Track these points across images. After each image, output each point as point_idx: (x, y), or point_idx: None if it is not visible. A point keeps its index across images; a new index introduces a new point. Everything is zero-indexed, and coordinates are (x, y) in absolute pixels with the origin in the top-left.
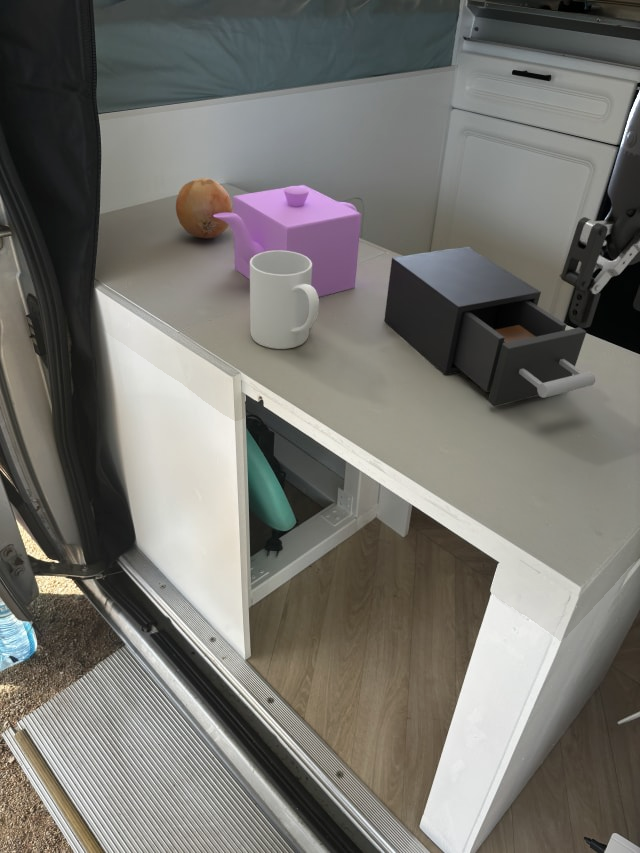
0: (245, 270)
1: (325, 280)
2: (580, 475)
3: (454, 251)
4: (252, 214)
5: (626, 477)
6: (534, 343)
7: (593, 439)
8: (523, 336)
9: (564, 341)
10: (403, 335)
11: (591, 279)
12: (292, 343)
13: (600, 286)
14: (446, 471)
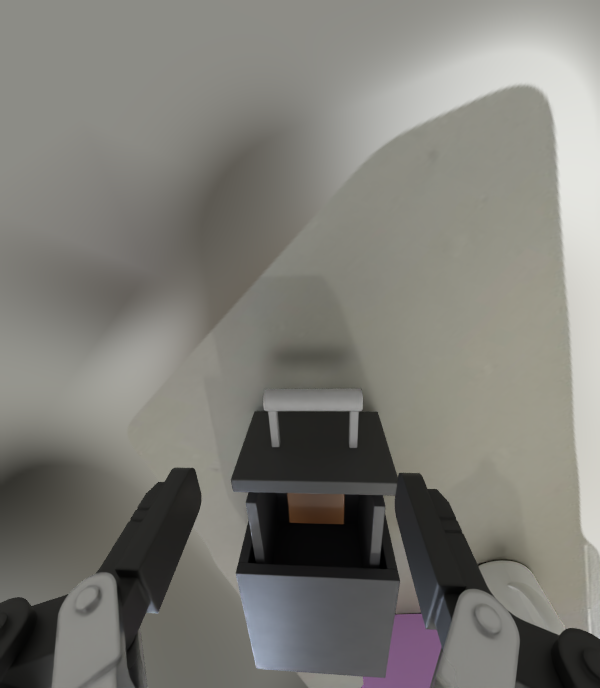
0: None
1: (403, 638)
2: (360, 268)
3: (285, 666)
4: None
5: (302, 241)
6: (344, 481)
7: (287, 322)
8: (305, 501)
9: (277, 472)
10: None
11: (526, 679)
12: (507, 566)
13: (473, 626)
14: (518, 335)
